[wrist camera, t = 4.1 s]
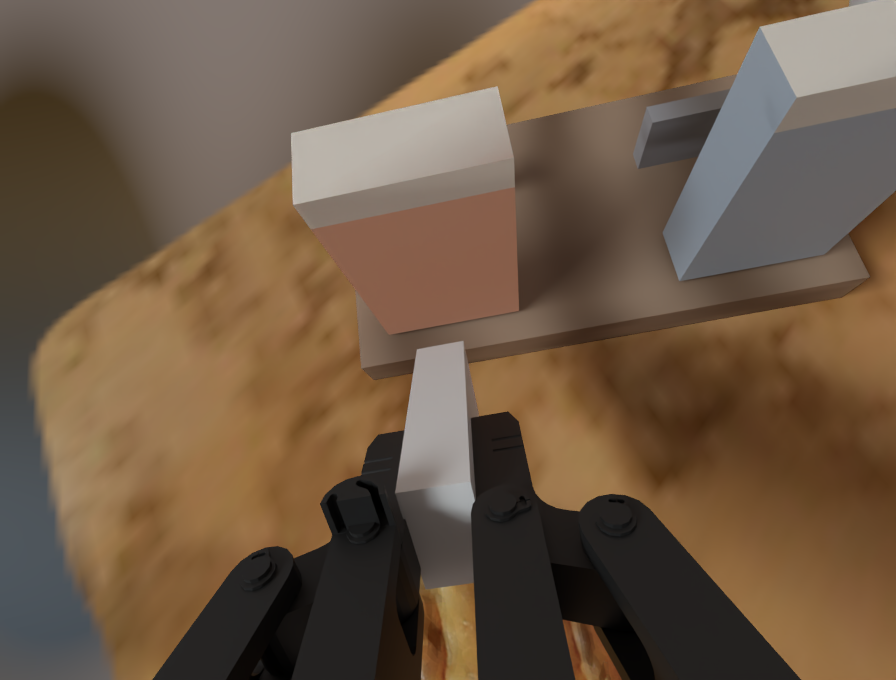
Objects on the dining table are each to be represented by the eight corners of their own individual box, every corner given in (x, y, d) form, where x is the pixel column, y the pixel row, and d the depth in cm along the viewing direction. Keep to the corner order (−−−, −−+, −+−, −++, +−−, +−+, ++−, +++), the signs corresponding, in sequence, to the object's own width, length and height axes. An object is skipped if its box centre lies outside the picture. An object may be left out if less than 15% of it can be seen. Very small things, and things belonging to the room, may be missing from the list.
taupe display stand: (748, 99, 27) (795, 11, 22) (841, 297, 22) (924, 238, 18) (357, 183, 29) (324, 118, 24) (373, 379, 24) (338, 346, 20)
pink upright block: (509, 262, 23) (497, 86, 14) (519, 310, 22) (514, 157, 13) (384, 286, 23) (291, 133, 14) (388, 334, 23) (292, 204, 13)
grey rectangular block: (801, 205, 22) (1005, -29, 12) (824, 254, 21) (1063, 40, 12) (662, 232, 22) (759, 27, 13) (679, 281, 21) (796, 97, 12)
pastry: (624, 517, 21) (644, 517, 17) (667, 707, 18) (701, 752, 15) (407, 543, 22) (384, 548, 18) (422, 727, 19) (399, 774, 16)
